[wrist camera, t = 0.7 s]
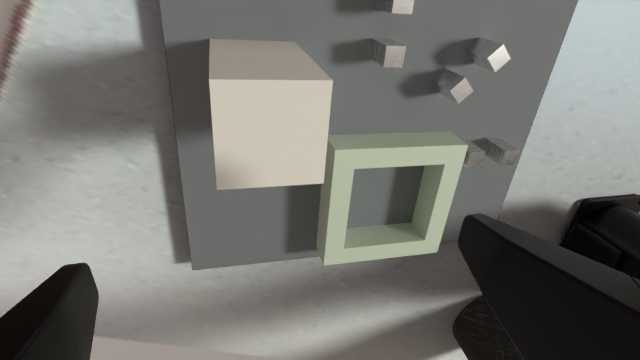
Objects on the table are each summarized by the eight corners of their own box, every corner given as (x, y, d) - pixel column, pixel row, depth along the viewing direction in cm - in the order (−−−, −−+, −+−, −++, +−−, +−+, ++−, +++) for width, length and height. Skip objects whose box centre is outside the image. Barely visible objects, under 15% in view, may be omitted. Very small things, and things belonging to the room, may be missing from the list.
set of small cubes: (544, -3, 21) (573, 1, 19) (493, 151, 25) (514, 164, 23) (378, -15, 18) (395, -12, 17) (355, 157, 23) (367, 173, 21)
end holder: (450, 131, 23) (468, 144, 22) (423, 234, 27) (437, 252, 26) (325, 134, 21) (335, 150, 20) (316, 245, 25) (323, 265, 24)
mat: (566, -8, 22) (580, -6, 21) (482, 229, 30) (490, 237, 29) (157, -40, 16) (154, -40, 16) (192, 259, 25) (192, 270, 24)
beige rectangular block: (294, 41, 19) (332, 80, 13) (291, 118, 20) (323, 183, 15) (209, 38, 18) (209, 79, 12) (215, 120, 20) (216, 189, 14)
